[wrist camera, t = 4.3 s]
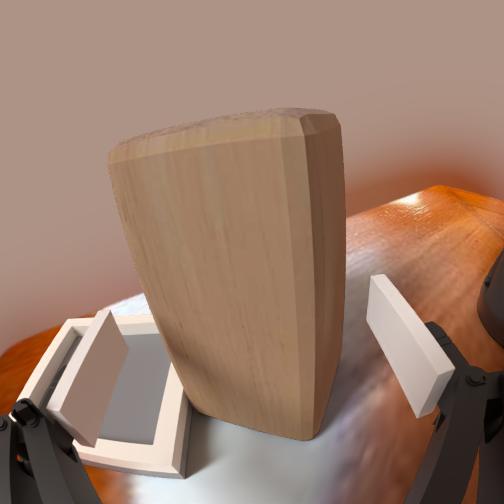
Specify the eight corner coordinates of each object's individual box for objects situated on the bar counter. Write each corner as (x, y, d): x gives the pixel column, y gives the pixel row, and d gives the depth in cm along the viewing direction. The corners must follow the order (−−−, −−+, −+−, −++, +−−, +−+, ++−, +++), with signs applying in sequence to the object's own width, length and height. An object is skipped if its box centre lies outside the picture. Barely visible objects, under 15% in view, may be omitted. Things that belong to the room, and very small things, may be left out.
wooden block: (241, 337, 28) (202, 124, 20) (341, 352, 25) (340, 109, 16) (191, 414, 20) (95, 147, 12) (314, 448, 16) (307, 104, 8)
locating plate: (203, 329, 30) (198, 309, 29) (184, 479, 15) (171, 465, 14) (76, 336, 31) (67, 318, 30) (20, 443, 15) (3, 426, 14)
